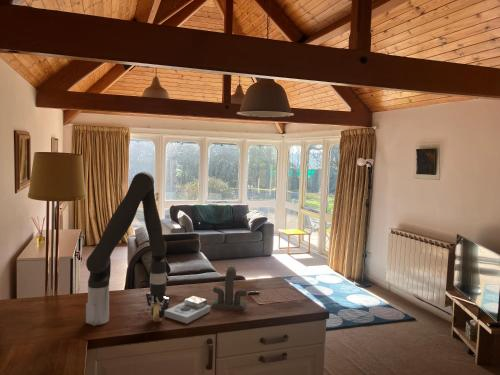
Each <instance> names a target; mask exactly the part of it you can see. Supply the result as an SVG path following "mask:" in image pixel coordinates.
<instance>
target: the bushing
mask: <svg viewBox="0 0 500 375" xmlns="http://www.w3.org/2000/svg"><path fill="white" fill-rule="evenodd" d="M161 303H162V302H161ZM161 303H160V304H161ZM161 307H162V305H161ZM159 311H160V310H159V306H158V304H157V302H156V303H154V304H153V316H152V321H153V322H154V323H155V322H156V323H158V322H162V320H163V318H159Z"/></svg>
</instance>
